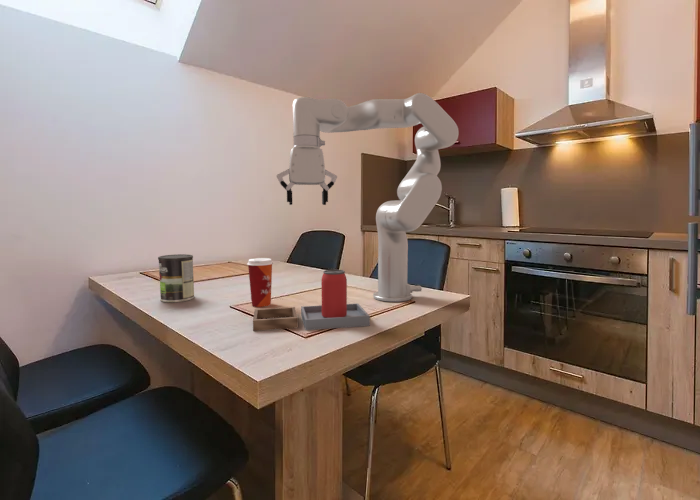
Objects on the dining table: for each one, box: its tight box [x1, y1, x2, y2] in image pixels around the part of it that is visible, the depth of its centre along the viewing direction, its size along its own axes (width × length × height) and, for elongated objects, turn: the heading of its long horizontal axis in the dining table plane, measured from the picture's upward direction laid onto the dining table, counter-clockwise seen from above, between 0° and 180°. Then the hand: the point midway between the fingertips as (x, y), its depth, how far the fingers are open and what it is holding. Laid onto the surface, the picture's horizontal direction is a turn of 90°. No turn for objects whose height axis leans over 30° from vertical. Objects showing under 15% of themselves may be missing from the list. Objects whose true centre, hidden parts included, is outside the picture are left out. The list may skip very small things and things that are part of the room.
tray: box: [300, 303, 371, 331], centre depth 98 cm, size 16×13×2 cm
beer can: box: [320, 269, 348, 318], centre depth 98 cm, size 7×7×12 cm
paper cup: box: [246, 257, 274, 308], centre depth 114 cm, size 8×8×14 cm
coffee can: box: [157, 253, 195, 303], centre depth 122 cm, size 10×10×14 cm
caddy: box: [252, 306, 299, 332], centre depth 96 cm, size 11×11×2 cm
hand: (307, 204), depth 109 cm, fingers open, 9 cm apart
